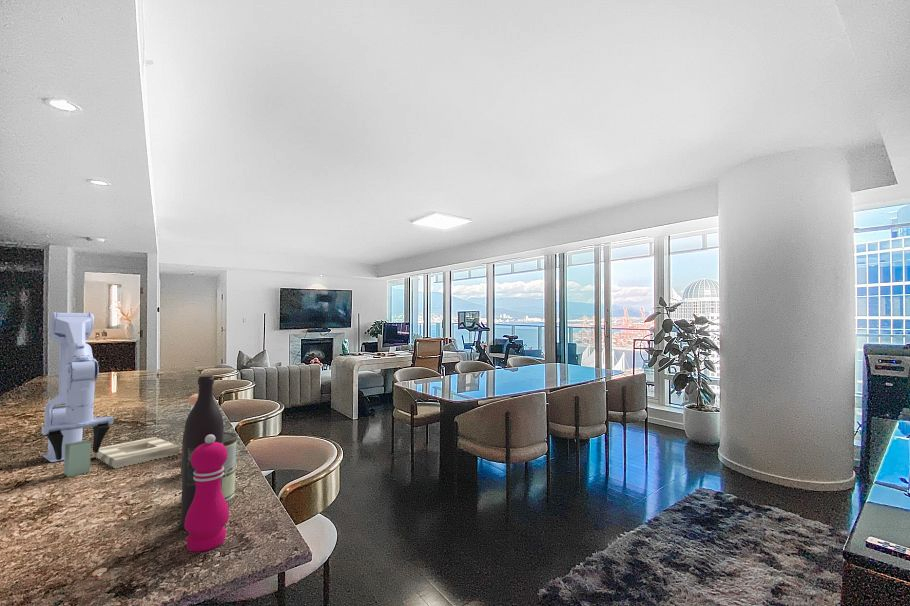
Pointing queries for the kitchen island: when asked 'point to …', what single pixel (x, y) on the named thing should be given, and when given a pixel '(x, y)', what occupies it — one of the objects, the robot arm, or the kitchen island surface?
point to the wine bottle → (199, 437)
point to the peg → (77, 458)
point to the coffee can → (229, 466)
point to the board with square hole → (136, 452)
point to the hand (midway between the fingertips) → (77, 455)
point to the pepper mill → (207, 498)
